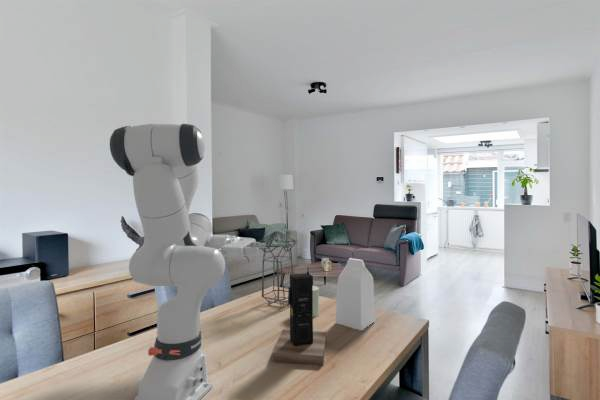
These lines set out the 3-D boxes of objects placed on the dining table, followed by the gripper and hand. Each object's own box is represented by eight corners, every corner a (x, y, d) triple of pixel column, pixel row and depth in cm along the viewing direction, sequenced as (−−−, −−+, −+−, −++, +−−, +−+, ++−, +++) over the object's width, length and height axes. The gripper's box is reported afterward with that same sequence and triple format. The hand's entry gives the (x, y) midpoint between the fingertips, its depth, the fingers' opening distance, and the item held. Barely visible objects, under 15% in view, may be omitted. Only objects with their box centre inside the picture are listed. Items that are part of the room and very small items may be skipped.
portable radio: (291, 347, 112) (291, 271, 111) (286, 339, 118) (286, 267, 117) (314, 344, 115) (314, 269, 114) (308, 336, 120) (307, 265, 120)
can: (295, 316, 148) (295, 288, 147) (301, 309, 156) (301, 283, 156) (316, 319, 145) (316, 290, 145) (321, 311, 154) (321, 284, 153)
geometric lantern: (283, 312, 153) (281, 233, 152) (255, 307, 161) (253, 232, 160) (301, 302, 166) (299, 229, 165) (275, 297, 174) (272, 228, 173)
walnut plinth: (323, 365, 107) (323, 355, 107) (272, 362, 109) (272, 352, 109) (326, 340, 125) (326, 331, 125) (282, 337, 127) (282, 329, 127)
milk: (375, 321, 142) (375, 258, 141) (361, 330, 133) (361, 263, 132) (350, 315, 149) (350, 255, 149) (335, 323, 141) (335, 259, 140)
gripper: (212, 242, 112) (254, 243, 110) (232, 234, 132) (268, 235, 130) (212, 262, 112) (254, 263, 110) (232, 250, 132) (268, 251, 131)
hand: (262, 248), depth 121 cm, fingers open, 8 cm apart
